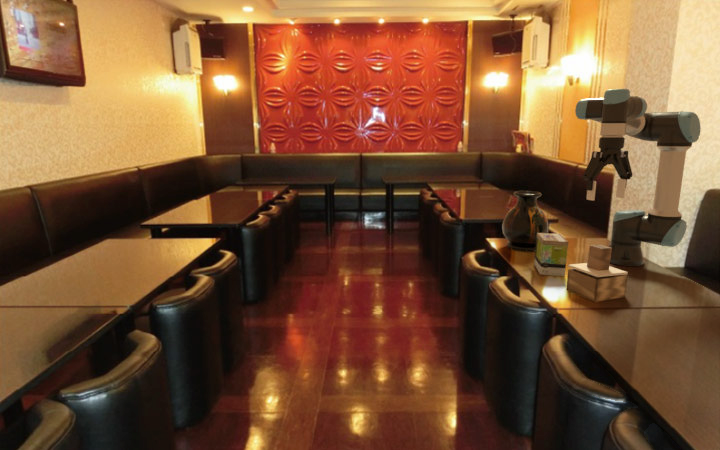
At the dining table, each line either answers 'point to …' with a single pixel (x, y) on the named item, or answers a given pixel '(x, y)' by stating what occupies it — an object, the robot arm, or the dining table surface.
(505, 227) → the dark glossy vase
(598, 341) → the dining table surface
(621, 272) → the lid
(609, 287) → the crate
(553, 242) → the tea box
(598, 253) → the walnut block
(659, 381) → the dining table surface
